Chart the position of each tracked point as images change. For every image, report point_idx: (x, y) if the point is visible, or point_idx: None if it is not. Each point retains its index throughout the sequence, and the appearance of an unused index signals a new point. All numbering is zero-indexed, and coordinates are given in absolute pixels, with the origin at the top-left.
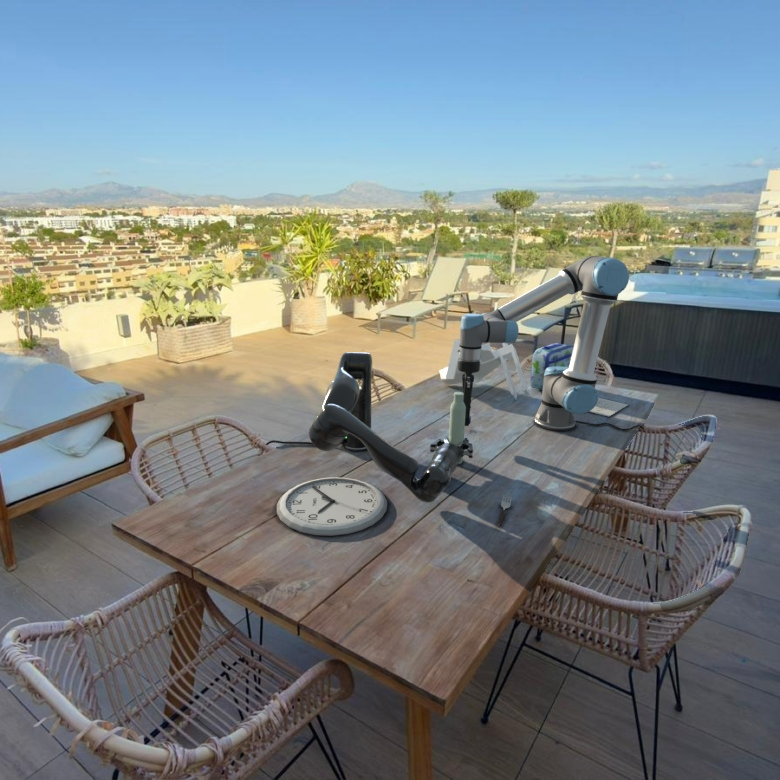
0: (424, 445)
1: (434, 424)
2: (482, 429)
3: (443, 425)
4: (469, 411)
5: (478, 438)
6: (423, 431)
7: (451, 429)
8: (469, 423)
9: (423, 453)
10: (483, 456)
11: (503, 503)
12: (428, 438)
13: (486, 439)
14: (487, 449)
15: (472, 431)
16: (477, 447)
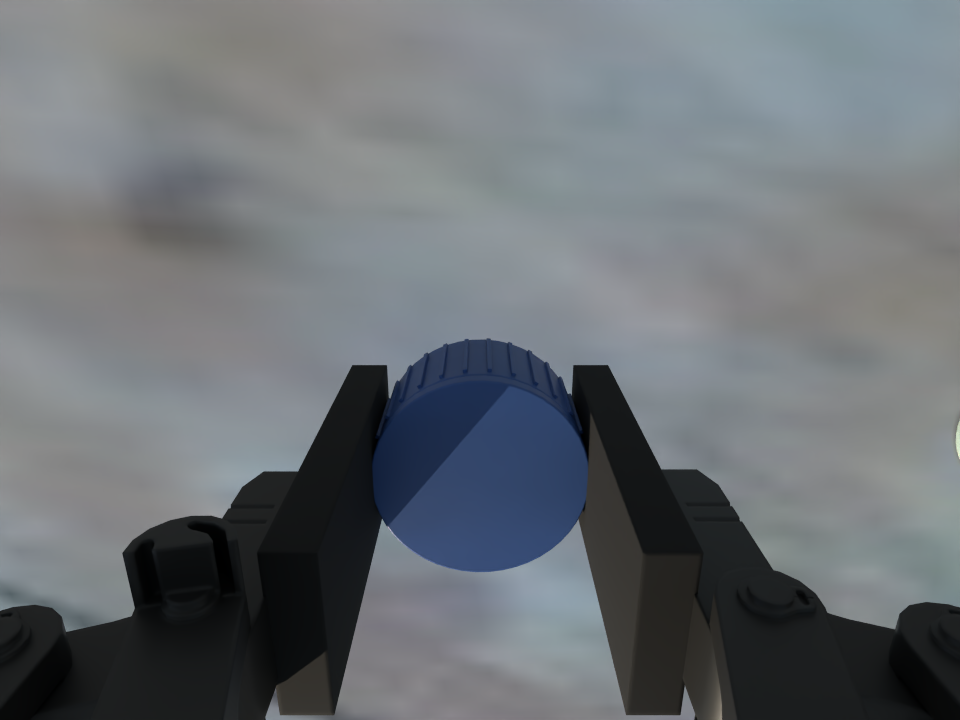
0: None
1: (102, 600)
2: (59, 71)
3: (98, 522)
4: (679, 513)
5: (395, 148)
6: None
7: None
8: (535, 359)
9: None
10: (943, 120)
11: None
12: (485, 637)
13: (410, 39)
14: (739, 51)
15: (177, 213)
16: (680, 177)
